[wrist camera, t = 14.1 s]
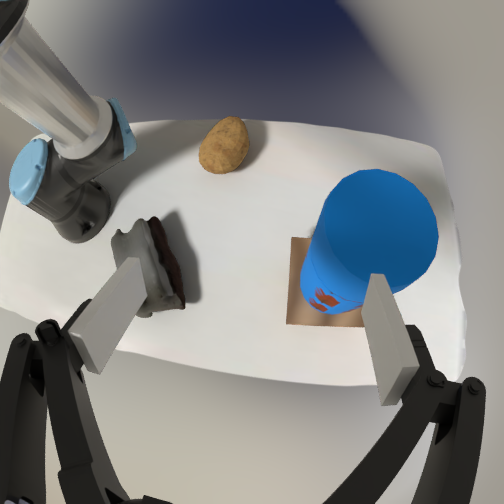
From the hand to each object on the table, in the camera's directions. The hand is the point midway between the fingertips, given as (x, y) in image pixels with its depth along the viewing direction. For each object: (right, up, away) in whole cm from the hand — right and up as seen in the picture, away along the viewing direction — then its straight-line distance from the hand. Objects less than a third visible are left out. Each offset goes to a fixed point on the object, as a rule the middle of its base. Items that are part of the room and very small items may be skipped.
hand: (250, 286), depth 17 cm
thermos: (+13, -3, +30) cm, 33 cm away
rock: (-19, -2, +41) cm, 45 cm away
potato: (-5, +22, +47) cm, 52 cm away
